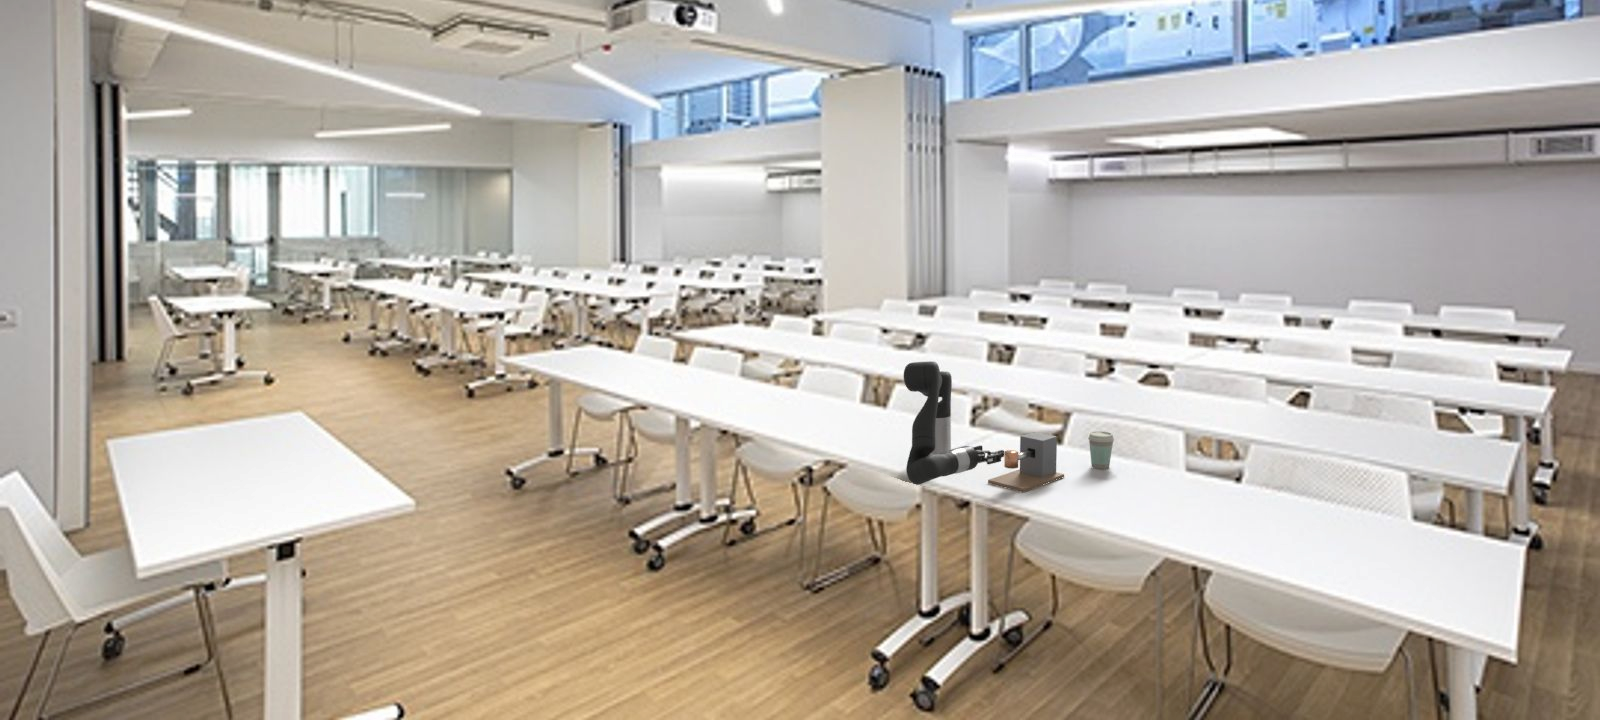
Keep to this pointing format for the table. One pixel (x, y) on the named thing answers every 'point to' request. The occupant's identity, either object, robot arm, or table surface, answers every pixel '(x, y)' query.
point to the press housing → (1032, 464)
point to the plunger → (1015, 458)
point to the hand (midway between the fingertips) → (992, 450)
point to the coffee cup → (1100, 449)
